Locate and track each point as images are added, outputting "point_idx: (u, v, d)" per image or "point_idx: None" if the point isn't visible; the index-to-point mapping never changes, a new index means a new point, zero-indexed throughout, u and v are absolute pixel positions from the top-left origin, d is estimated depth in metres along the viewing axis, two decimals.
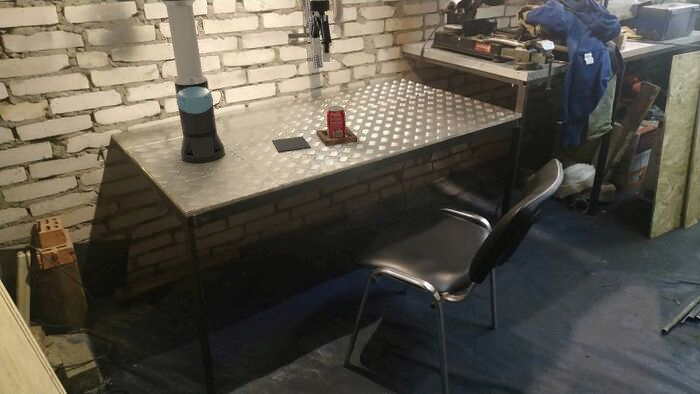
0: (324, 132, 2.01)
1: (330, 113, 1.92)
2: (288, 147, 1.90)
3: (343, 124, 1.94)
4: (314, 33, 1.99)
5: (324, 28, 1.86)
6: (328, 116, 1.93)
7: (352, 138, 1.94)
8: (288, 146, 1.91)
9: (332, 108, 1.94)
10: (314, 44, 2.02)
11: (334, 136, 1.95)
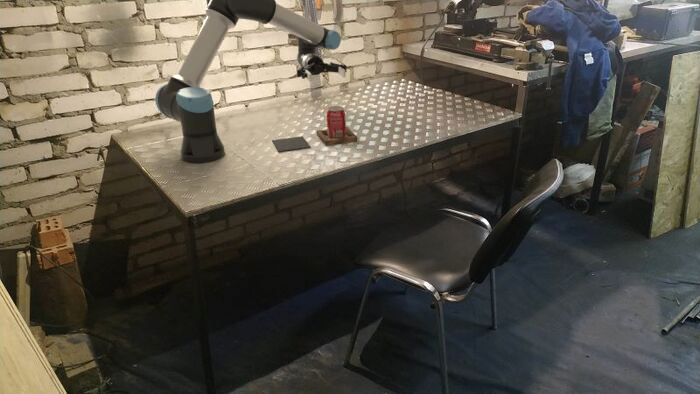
0: (324, 132, 2.01)
1: (330, 113, 1.92)
2: (288, 147, 1.90)
3: (343, 124, 1.94)
4: (307, 70, 2.02)
5: None
6: (328, 116, 1.93)
7: (352, 138, 1.94)
8: (288, 146, 1.91)
9: (332, 108, 1.94)
10: None
11: (334, 136, 1.95)
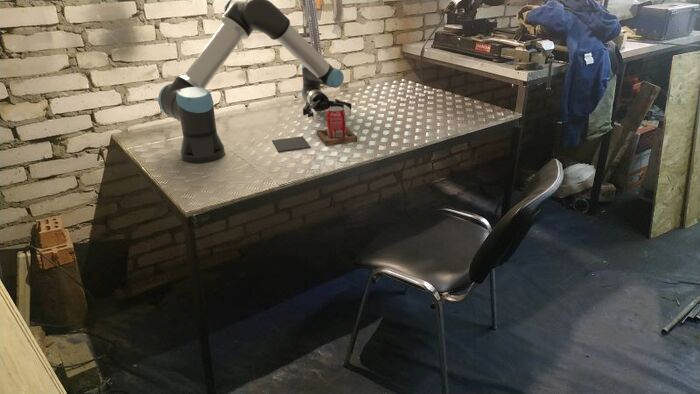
0: (324, 132, 2.01)
1: (330, 113, 1.92)
2: (288, 147, 1.90)
3: (343, 124, 1.94)
4: (312, 108, 2.05)
5: None
6: (328, 116, 1.93)
7: (352, 138, 1.94)
8: (288, 146, 1.91)
9: (332, 108, 1.94)
10: None
11: (334, 136, 1.95)
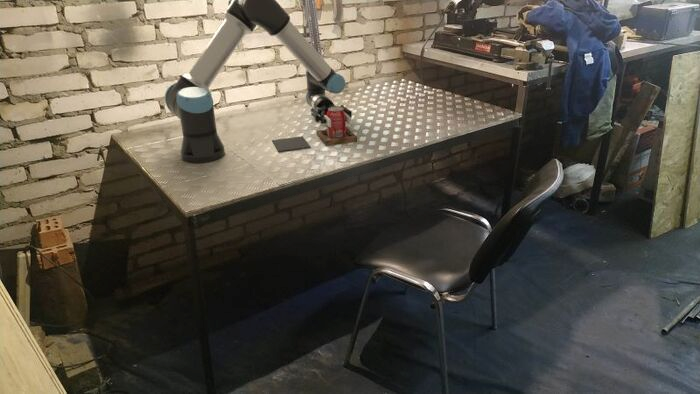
0: (324, 132, 2.01)
1: (330, 113, 1.92)
2: (288, 147, 1.90)
3: (343, 124, 1.94)
4: (324, 114, 1.97)
5: None
6: (328, 116, 1.93)
7: (352, 138, 1.94)
8: (288, 146, 1.91)
9: (332, 108, 1.94)
10: None
11: (334, 136, 1.95)
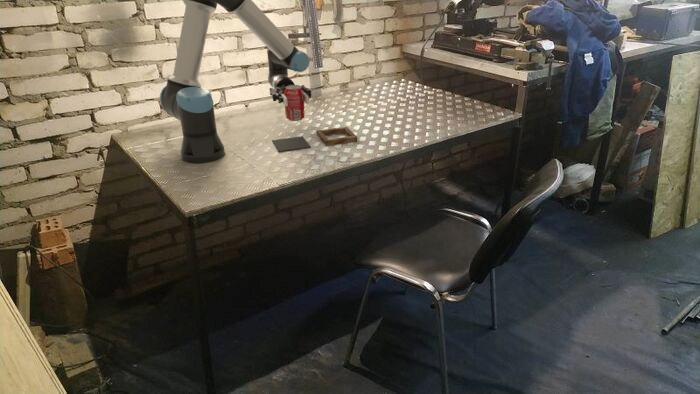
0: (324, 132, 2.01)
1: (287, 91, 1.83)
2: (288, 147, 1.90)
3: (301, 103, 1.85)
4: (282, 94, 1.89)
5: None
6: (285, 95, 1.84)
7: (352, 138, 1.94)
8: (288, 146, 1.91)
9: (290, 87, 1.85)
10: None
11: (292, 116, 1.86)
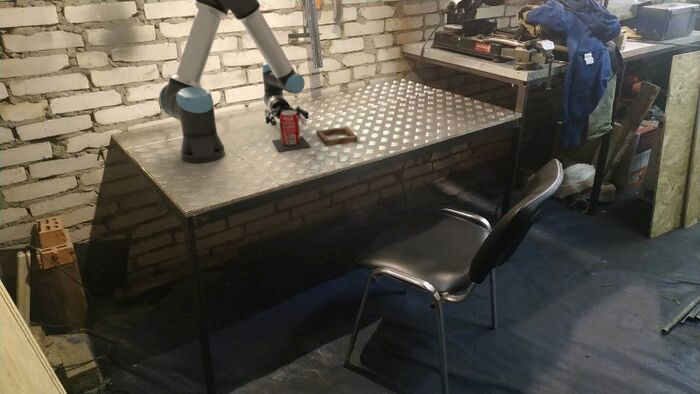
0: (324, 132, 2.01)
1: (282, 117, 1.87)
2: (288, 147, 1.90)
3: (296, 128, 1.89)
4: (275, 116, 1.92)
5: None
6: (281, 120, 1.88)
7: (352, 138, 1.94)
8: (288, 146, 1.91)
9: (285, 112, 1.89)
10: (277, 120, 1.88)
11: (287, 141, 1.90)
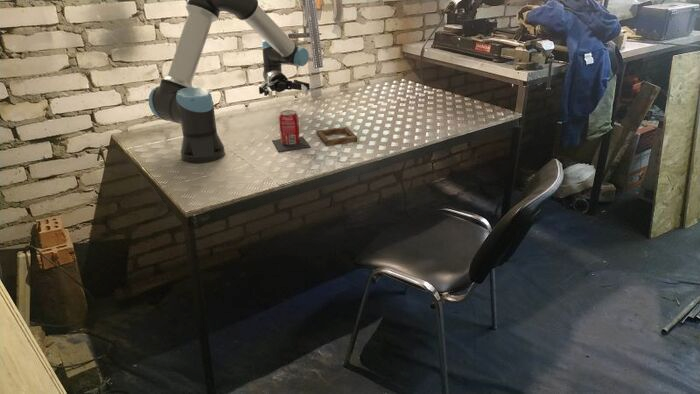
0: (324, 132, 2.01)
1: (282, 117, 1.87)
2: (288, 147, 1.90)
3: (296, 128, 1.89)
4: (269, 87, 2.02)
5: None
6: (280, 120, 1.88)
7: (352, 138, 1.94)
8: (288, 146, 1.91)
9: (285, 112, 1.89)
10: None
11: (287, 141, 1.90)
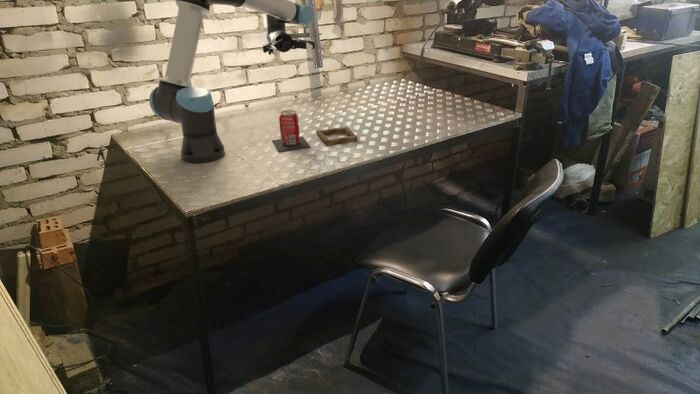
0: (324, 132, 2.01)
1: (282, 117, 1.87)
2: (288, 147, 1.90)
3: (296, 128, 1.89)
4: (273, 46, 1.96)
5: None
6: (280, 120, 1.88)
7: (352, 138, 1.94)
8: (288, 146, 1.91)
9: (285, 112, 1.89)
10: None
11: (287, 141, 1.90)
